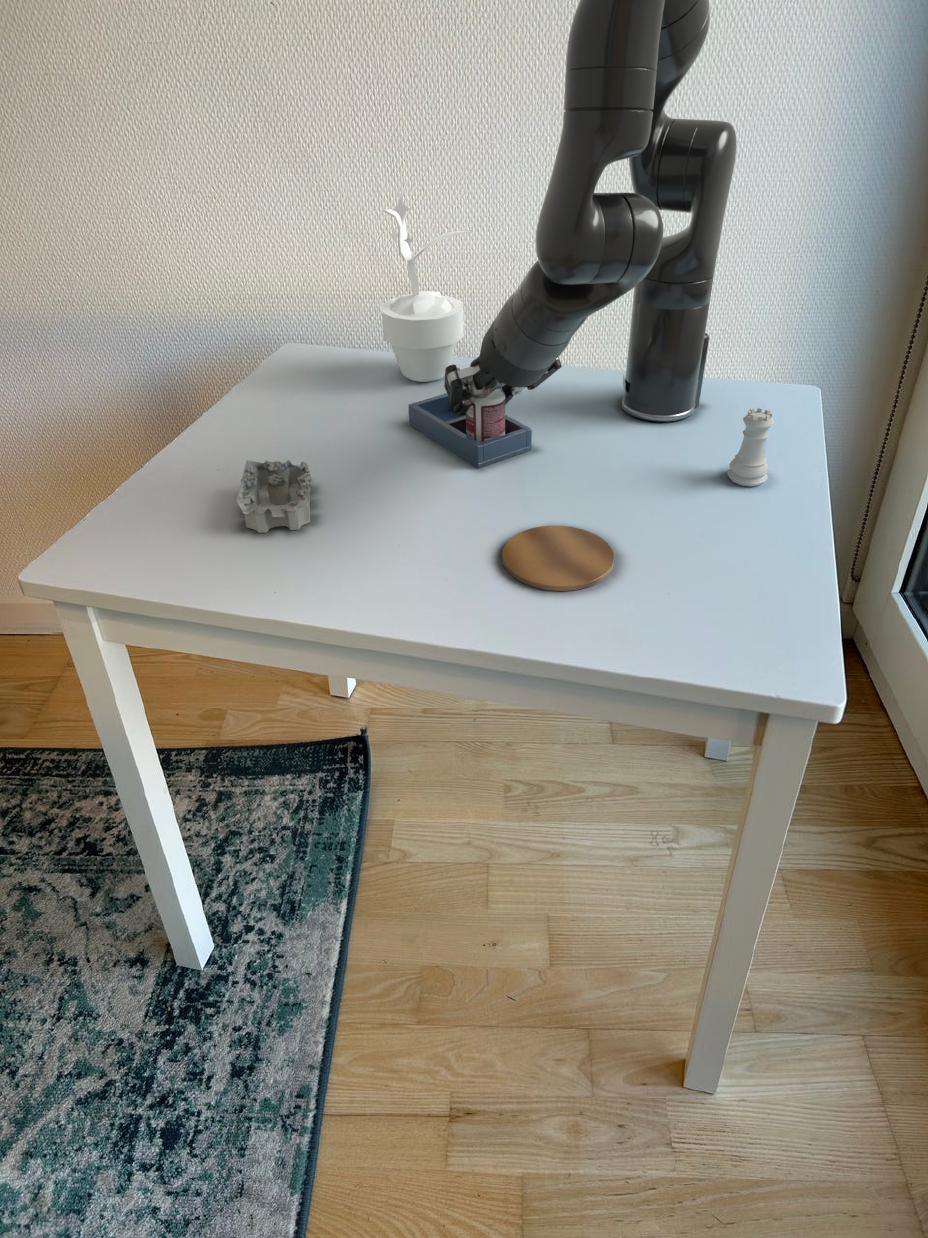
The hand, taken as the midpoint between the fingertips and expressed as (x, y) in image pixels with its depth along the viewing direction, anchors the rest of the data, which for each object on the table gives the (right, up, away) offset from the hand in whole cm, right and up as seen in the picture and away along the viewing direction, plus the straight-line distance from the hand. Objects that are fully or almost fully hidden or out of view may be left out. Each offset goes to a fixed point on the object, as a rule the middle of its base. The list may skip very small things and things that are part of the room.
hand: (478, 403), depth 104 cm
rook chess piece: (+30, -10, -6) cm, 33 cm away
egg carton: (-22, -14, -9) cm, 28 cm away
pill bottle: (+1, -5, +1) cm, 5 cm away
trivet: (+8, -20, -18) cm, 28 cm away
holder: (-1, -3, +4) cm, 5 cm away
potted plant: (-7, +9, +21) cm, 24 cm away
